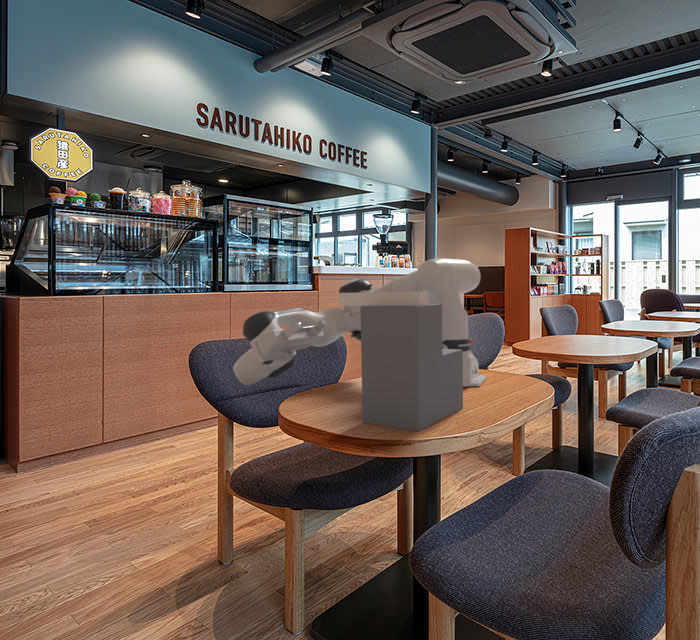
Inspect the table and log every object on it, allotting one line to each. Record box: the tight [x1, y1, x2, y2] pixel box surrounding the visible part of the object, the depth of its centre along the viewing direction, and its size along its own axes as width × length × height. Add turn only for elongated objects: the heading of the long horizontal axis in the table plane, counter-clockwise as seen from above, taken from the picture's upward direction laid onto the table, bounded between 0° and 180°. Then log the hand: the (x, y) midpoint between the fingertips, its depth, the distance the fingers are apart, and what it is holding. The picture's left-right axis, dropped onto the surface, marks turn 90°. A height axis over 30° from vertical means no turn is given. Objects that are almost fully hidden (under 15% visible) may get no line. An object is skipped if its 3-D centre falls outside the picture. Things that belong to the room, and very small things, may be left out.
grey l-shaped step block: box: [360, 303, 464, 432], centre depth 118 cm, size 24×14×26 cm, turn 146°
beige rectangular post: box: [338, 291, 429, 307], centre depth 115 cm, size 4×21×3 cm, turn 56°
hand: (312, 324), depth 127 cm, fingers open, 8 cm apart
